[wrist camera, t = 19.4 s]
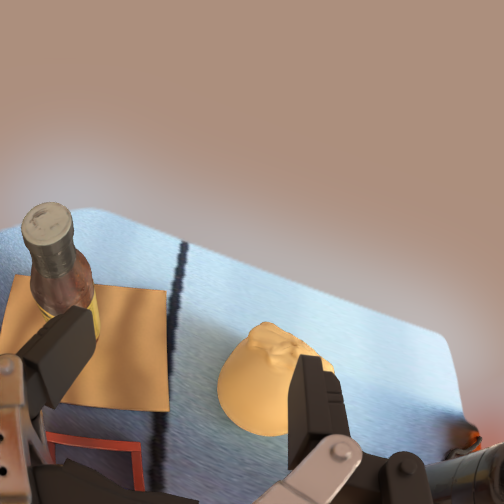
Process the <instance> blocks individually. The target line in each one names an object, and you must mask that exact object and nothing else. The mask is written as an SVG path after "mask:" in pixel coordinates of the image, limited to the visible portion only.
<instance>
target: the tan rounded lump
mask: <svg viewBox="0 0 504 504" xmlns="http://www.w3.org/2000/svg"><path fill="white" fill-rule="evenodd" d="M300 354H304V355H312V356H320V355H318V354H317V353H316V352H315V350H314V349H312V348H311V347H309V346H308V345H307V344H306V343H305V342H303V341H302V340H300V339H298V338H296V337H295V336H293V335H292V334H291V333H288V332H285V331H283V330H282V329H280V328H279V327H277V326H276V325H275V324H273V323H270V322H262V323H261V324H260V325H258V326H256V327H254V328H253V329H252V330H251V331H250V332H249V335H248V337H247V338H245V339H244V340H243V341H241V342H240V343H239V344H238V346H237V347H236V348H235V349H234V351H233V352H232V353H231V355H230V356H229V358H228V359H227V360H226V362H225V363H224V365H223V367H222V369H221V372H220V374H219V378H218V384H217V393H218V399H219V402H220V404H221V407H222V409H223V410H224V412H225V413H226V415H227V416H228V417H229V418H230V419H231V420H232V421H233V422H234V423H235V424H236V425H238V426H239V427H241V428H242V429H244V430H246V431H248V432H251V433H253V434H257V435H261V436H280V435H284V434H287V433H288V390H289V385H290V382H291V379H292V376H293V373H294V370H295V367H296V364H297V361H298V358H299V355H300ZM320 357H321V356H320ZM321 359H322V365H323V371H332V372H333V373H334V374H335V372H334V368H333V366H332V365H331V364H330V363H329V362H328V361H326V360H325V359H323V358H322V357H321Z"/></svg>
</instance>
